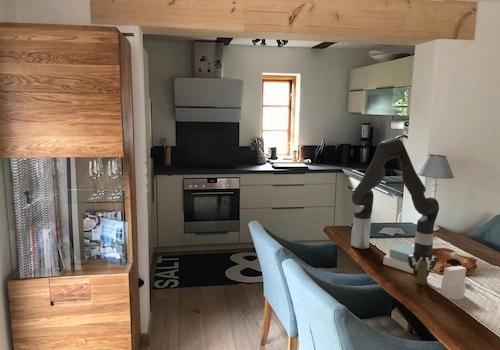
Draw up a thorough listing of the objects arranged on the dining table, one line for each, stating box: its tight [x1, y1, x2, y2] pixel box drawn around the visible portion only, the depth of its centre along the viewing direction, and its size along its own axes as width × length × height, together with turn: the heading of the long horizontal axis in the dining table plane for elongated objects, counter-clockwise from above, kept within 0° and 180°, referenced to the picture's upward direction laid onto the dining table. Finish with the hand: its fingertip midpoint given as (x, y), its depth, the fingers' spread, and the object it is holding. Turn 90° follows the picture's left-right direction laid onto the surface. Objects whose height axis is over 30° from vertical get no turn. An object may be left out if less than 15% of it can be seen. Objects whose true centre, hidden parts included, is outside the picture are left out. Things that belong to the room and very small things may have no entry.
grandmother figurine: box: [443, 251, 463, 267], centre depth 190 cm, size 8×4×13 cm, turn 71°
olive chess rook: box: [412, 260, 428, 286], centre depth 186 cm, size 6×6×11 cm
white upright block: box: [440, 265, 467, 300], centre depth 173 cm, size 9×9×12 cm
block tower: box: [382, 243, 415, 275], centre depth 205 cm, size 16×16×8 cm
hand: (420, 276), depth 186 cm, fingers closed on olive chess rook, 4 cm apart
